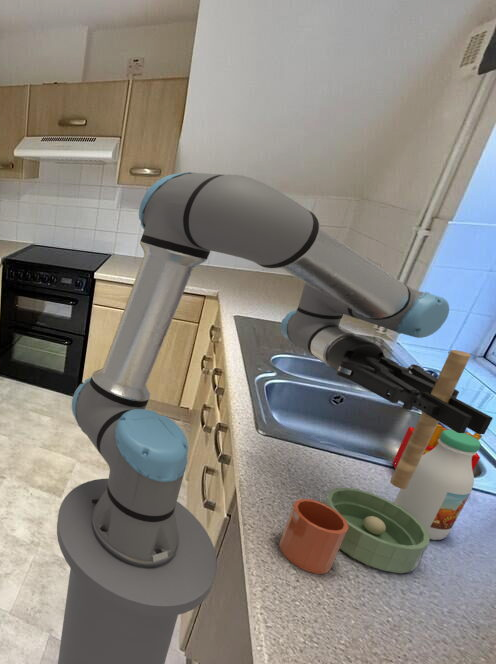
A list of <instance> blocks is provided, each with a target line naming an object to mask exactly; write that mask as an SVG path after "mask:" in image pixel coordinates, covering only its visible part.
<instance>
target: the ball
mask: <svg viewBox="0 0 496 664" xmlns="http://www.w3.org/2000/svg"><path fill="white" fill-rule="evenodd" d="M363 525H364V527H365V528H366V530H368V531H369V532H370V533H373V534H377V535H379V534H383V533H384V532H385V530H386V526H385V524H384V522H383V521H382V520H380V519H379V518H377V517H374V516H368V517H366V518H365V519H364V521H363Z"/></svg>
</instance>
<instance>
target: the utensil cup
mask: <svg viewBox="0 0 496 664" xmlns="http://www.w3.org/2000/svg"><path fill="white" fill-rule="evenodd" d="M292 504H293V505H292V507H291V510H290V513H289V515H288V518H287V520H286V523H285V526H284V528H283V531H282V534H281V537H280V540H279V549H280V551H281V552H282V554H283V556H284V557H285V558H286V559H287V560H288V561H290V562H291V563H292V564H293V565H295V566H296V567H298V568H300V569H301V570H303V571H306V572H308V573H312V574H317V575H323V574H327V573H328V572H329V571H331V568H332V567H333V564H334V562H335V560H336V557H337V555H338V553H339V550H340V549H339V548H340V546H341V544H342V542H343V539H344V537H345V535H346V533H347V530H348V528H349V526H348V524H347V521H346V520H345V519H344V517H343V516H342V515H341V514H340V513H338V512H337V511H336V510H334V509H333V508H331V507H329V506H327V505H325V504H324V503H323V502H321V501H318V500H315V499H311V498H298V499H297V500H295V501H294V503H292Z"/></svg>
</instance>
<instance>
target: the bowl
mask: <svg viewBox="0 0 496 664" xmlns="http://www.w3.org/2000/svg"><path fill="white" fill-rule="evenodd" d="M323 504H325V505H327V506H329V507H331V508H333V509H334V510H336V511H337V512H338V513H340V514H341V515H342V516H343V517H344V519H345V520H346V521H347V524H348V526H349V528H348V530H347V533H346V535H345V537H344V539H343V542H342V544H341V546H340V548H339V550H341V551H342V552H343V553H345V554H346V555H348V556H349V557H351V558H352V559H354V560H356V561H358V562H360V563H362V564H364V565H366V566H369V567H371V568H374V569H377V570H381V571H384V572H389V573H396V574H403V573H411V572H412V571H413V570H415V569H416V568H417V567H418V565H419V564H420V561H421V559H422V558H423V556H424V554H425V552H426V550H427V549H428V547H429V545H430V540H431V539H430V536H429V534H428V532H427V530H426V529H425V527H424V526H423V525H422V524H421V523H420V522H419V521H418V520H417V519H416V518H415V517H414V516H412V515H411V514H410V513H408V512H407V511H406V510H404V509H403V508H401V507H400V506H398V505H396V504H394V502H392V501H391V500H389V499H386V498H385V497H382V496H380V495H377V494H375V493H373V492H369V491H366V490H363V489H358V488H354V487H346V486H345V487H335V488H333V489H331V490H329V491H328V493H327V495H326V498H325V500H324V503H323ZM368 516H374V517H377V518H379V519H380V520H382V521H383V522H384V524H385V526H386V530H385V532H384V533H383V534H379V535H377V534H373V533H370V532H369V531H368V530H366V528H365V527H364V525H363V521H364V519H365V518H366V517H368Z"/></svg>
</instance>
